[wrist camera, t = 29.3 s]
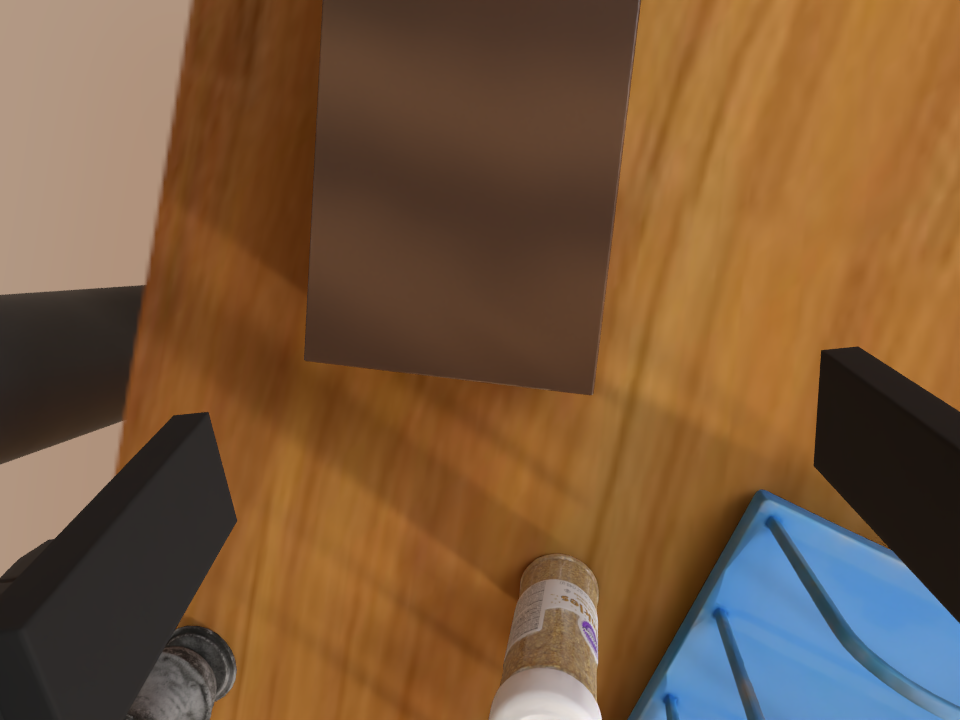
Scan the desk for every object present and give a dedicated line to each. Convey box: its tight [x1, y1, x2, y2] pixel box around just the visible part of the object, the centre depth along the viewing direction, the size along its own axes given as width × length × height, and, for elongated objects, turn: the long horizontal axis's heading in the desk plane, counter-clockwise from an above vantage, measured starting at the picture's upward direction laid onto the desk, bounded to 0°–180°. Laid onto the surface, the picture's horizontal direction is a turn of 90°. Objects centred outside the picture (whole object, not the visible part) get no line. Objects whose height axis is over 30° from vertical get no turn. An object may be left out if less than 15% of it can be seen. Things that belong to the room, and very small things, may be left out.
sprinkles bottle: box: [489, 554, 602, 720], centre depth 34 cm, size 5×5×13 cm
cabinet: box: [304, 0, 641, 395], centre depth 33 cm, size 16×13×9 cm
